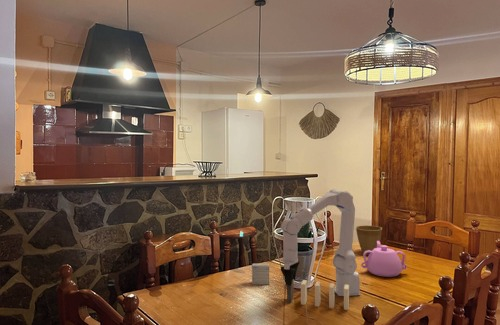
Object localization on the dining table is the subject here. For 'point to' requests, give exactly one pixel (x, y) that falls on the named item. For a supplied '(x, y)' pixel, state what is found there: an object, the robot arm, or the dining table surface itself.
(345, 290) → the domino
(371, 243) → the plant pot
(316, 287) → the domino
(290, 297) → the domino
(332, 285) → the domino
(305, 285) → the domino
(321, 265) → the dining table surface
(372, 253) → the teapot
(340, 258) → the robot arm
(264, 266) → the medicine box
